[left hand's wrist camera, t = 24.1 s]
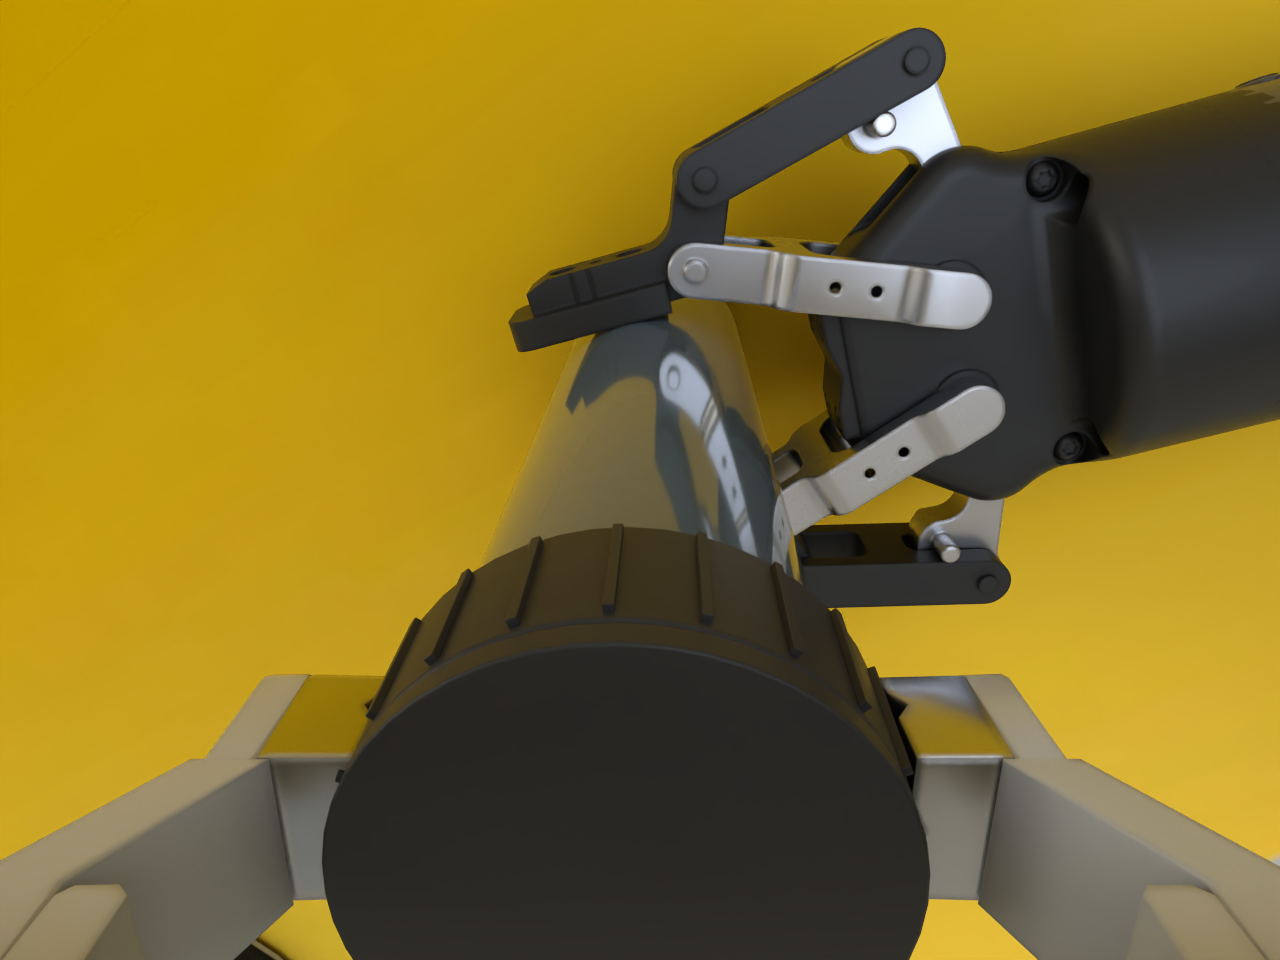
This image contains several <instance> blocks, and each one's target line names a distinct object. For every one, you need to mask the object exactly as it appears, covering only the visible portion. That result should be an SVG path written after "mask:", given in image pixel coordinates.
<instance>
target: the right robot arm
mask: <svg viewBox="0 0 1280 960" xmlns="http://www.w3.org/2000/svg"><path fill="white" fill-rule="evenodd" d="M945 60H946V53H945V48H944V45H943V43H942V41H941V39H940V38H939V37H938V35H937V34H935V33H934V32H933V31H931V30H929V29H925V28H913V29H909V30H907V31H904V32H901V33H898V34H895V35H892V36H889V37H886V38H883V39H880V40H878V41H876V42H874V43H872V44H870V45H868V46H867V47H865V48H863V49H861V50H860V51H858V52H856V53H855V54H853V55H851V56H849V57H848V58H846V59H844V60H842V61H841V62H839V63H837V64H835V65H834V66H832V67H830V68H828V69H827V70H825V71H823V72H821V73H820V74H818V75H816V76H814V77H813V78H811V79H809V80H807V81H806V82H804V83H802V84H800V85H799V86H797V87H795V88H793V89H792V90H790V91H788V92H786V93H785V94H783V95H781V96H779V97H778V98H776V99H774V100H772V101H771V102H769V103H767V104H765V105H764V106H762V107H760V108H758V109H757V110H755V111H753V112H752V113H750V114H748V115H746V116H745V117H743V118H741V119H739V120H738V121H736V122H734V123H732V124H731V125H729V126H727V127H725V128H724V129H722V130H720V131H718V132H717V133H715V134H713V135H711V136H710V137H708V138H706V139H704V140H703V141H701V142H699V143H697V144H696V145H694V146H692V147H690V148H689V149H687V150H685V151H684V152H682V153H681V154H680V155H679V157H678V158H677V159H676V161H675V164H674V167H673V173H672V175H673V182H672V193H671V203H670V214H669V219H668V223H667V225H666V227H665V229H664V231H663V232H662V233H661V235H660V236H659V237H658V238H656V239H655V240H654V241H652V242H650V243H648V244H645V245H642V246H638V247H634V248H631V249H627V250H624V251H620V252H616V253H613V254H609V255H605V256H602V257H598V258H595V259H592V260H587V261H584V262H580V263H576V264H574V265H569V266H566V267H562V268H558V269H555V270H551V271H550V272H548V273H547V274H546V275H544V276H543V277H542V278H541V279H539V280H538V281H537V282H535V283H534V284H533V285H532V287H531V289H530V290H529V292H528V293H527V298H528V301H529V304H530V305H527V306H525V307H522V308H520V309H518V310H517V311H515V313H514V315H513V316H512V318H511V319H510V321H509V325H510V328H511V331H512V334H513V338H514V341H515V344H516V347H517V350H518V351H519V352H526V351H532V350H536V349H540V348H543V347H547V346H551V345H555V344H558V343H562V342H566V341H570V340H573V339H577V338H581V337H585V336H588V335H592V334H596V333H600V332H603V331H607V330H611V329H615V328H618V327H622V326H626V325H629V324H633V323H637V322H641V321H644V320H648V319H652V318H656V317H659V316H663V315H667V314H671V313H673V311H672V306H671V301H675V300H679V299H682V298H686V297H687V298H692V299H702V300H713V301H724V302H734V303H745V304H756V305H764V306H769V307H772V308H775V309H779V310H783V311H789V312H798V313H808V316H809V321H810V326H811V329H812V331H813V333H814V335H815V337H816V339H817V341H818V343H819V345H820V347H821V349H822V351H823V353H824V355H825V365H824V378H823V391H824V396H825V401H826V406H827V410H826V411H824V412H823V413H821V414H820V415H818V416H817V417H815V418H814V419H812V420H811V421H809V422H807V423H806V424H804V425H803V426H801V427H800V428H799V429H797V430H796V431H795V432H794V433H793V435H792V436H791V438H790V440H789V441H788V443H787V444H785V445H784V446H783V447H781V448H780V449H778V450H777V451H775V452H774V453H772V457H773V461H774V464H775V468H776V472H777V475H778V479H779V482H780V486H781V490H782V493H783V497H784V501H785V504H786V508H787V512H788V515H789V519H790V523H791V526H792V530H793V534H794V537H795V541H796V544H797V548H798V552H799V555H800V559H801V563H802V566H803V570H804V574H805V577H806V581H807V585H808V588H809V591H810V592H811V593H812V594H814V595H815V596H816V597H817V598H819V599H820V600H821V602H822V603H823V604H824V605H825V606H826V607H827V608H844V607H881V606H918V605H955V604H986V603H991V602H994V601H996V600H998V599H1000V598H1001V597H1002V596H1003V595H1004V594H1005V593H1006V592H1007V591H1008V589H1009V587H1010V583H1011V576H1010V573H1009V571H1008V569H1007V568H1006V567H1005V566H1004V564H1003V563H1002V562H1001V561H1000V559H999V557H998V555H997V549H998V542H999V534H1000V527H1001V519H1002V512H1003V505H1004V498H1007V497H1009V496H1011V495H1014V494H1015V493H1017V492H1019V491H1020V490H1022V489H1023V488H1024V487H1026V486H1027V485H1028V484H1029V483H1030V482H1032V481H1033V480H1034V479H1036V478H1037V477H1039V476H1040V475H1042V474H1044V473H1046V472H1047V471H1049V470H1052V469H1054V468H1056V467H1059V466H1062V465H1067V464H1074V463H1083V462H1093V461H1103V460H1110V459H1116V458H1121V457H1125V456H1129V455H1133V454H1137V453H1141V452H1146V451H1150V450H1154V449H1158V448H1162V447H1166V446H1171V445H1175V444H1179V443H1183V442H1187V441H1191V440H1195V439H1200V438H1204V437H1208V436H1212V435H1216V434H1220V433H1225V432H1229V431H1233V430H1237V429H1241V428H1245V427H1249V426H1253V425H1257V424H1262V423H1266V422H1270V421H1274V420H1278V419H1280V74H1278V73H1273V74H1269V75H1266V76H1262V77H1259V78H1256V79H1253V80H1250V81H1248V82H1245V83H1243V84H1240V85H1238V86H1236V88H1235V89H1233V90H1231V91H1228V92H1224V93H1220V94H1217V95H1213V96H1210V97H1206V98H1202V99H1199V100H1195V101H1191V102H1188V103H1184V104H1181V105H1177V106H1173V107H1169V108H1166V109H1162V110H1159V111H1155V112H1151V113H1148V114H1144V115H1140V116H1137V117H1133V118H1130V119H1126V120H1122V121H1119V122H1115V123H1112V124H1108V125H1104V126H1101V127H1097V128H1093V129H1090V130H1086V131H1083V132H1079V133H1075V134H1072V135H1068V136H1065V137H1061V138H1057V139H1054V140H1050V141H1046V142H1043V143H1039V144H1036V145H1032V146H1028V147H1025V148H1021V149H1017V150H1013V151H1006V152H993V151H989V150H986V149H983V148H980V147H975V146H961V144H960V142H959V139H958V136H957V134H956V131H955V128H954V126H953V123H952V121H951V118H950V115H949V113H948V110H947V107H946V105H945V102H944V100H943V97H942V94H941V92H940V89H939V86H938V84H937V80H938V79H939V78H940V76H941V74H942V72H943V70H944V66H945ZM839 138H841V139H842V140H843V142H844V143H845V145H846V146H847V147H848V148H850V149H851V150H853V151H856V152H860V153H867V154H878V153H882V152H885V151H887V150H890V149H896V150H898V151H900V152H901V153H903V154H904V155H905V156H906V158H907V159H908V161H909V163H910V164H909V165H908V166H907V167H906V168H905V169H904V171H903V172H902V173H901V174H900V175H899V176H898V177H897V179H896V180H895V181H894V182H893V183H892V184H891V185H890V187H889V188H888V189H887V190H886V191H885V192H884V194H883V195H882V196H881V197H880V198H879V199H878V200H877V202H876V203H875V204H874V205H873V206H872V207H871V208H870V210H869V211H868V212H867V213H866V214H865V215H864V216H863V218H862V219H861V220H860V221H859V222H858V223H857V225H856V226H855V227H854V228H853V229H852V230H851V231H850V233H849V234H848V235H847V236H846V237H845V238H844V239H843V241H842V242H841V243H839V242H828V241H818V240H808V239H797V238H787V237H776V236H765V237H754V236H743V235H733V234H725V228H726V220H727V211H728V203H729V199H731V198H733V197H735V196H737V195H738V194H740V193H742V192H744V191H746V190H747V189H749V188H751V187H753V186H755V185H756V184H758V183H760V182H762V181H764V180H765V179H767V178H769V177H771V176H773V175H774V174H776V173H778V172H780V171H782V170H783V169H785V168H787V167H789V166H791V165H792V164H794V163H796V162H798V161H799V160H801V159H803V158H805V157H807V156H808V155H810V154H812V153H814V152H816V151H817V150H819V149H821V148H823V147H825V146H826V145H828V144H830V143H832V142H834V141H835V140H837V139H839ZM867 469H868V470H867ZM909 476H913V477H916V478H918V479H921V480H924V481H927V482H929V483H932V484H935V485H937V486H940V487H943V488H946V489H948V490H951V491H954V493H953V494H952V496H951V497H950V498H949V499H948V500H947V501H945V502H944V503H942V504H940V505H937V506H932V507H927V508H921V509H919V510H917V511H916V513H915V514H914V516H913V517H912V519H911V521H910V523H879V524H843V525H813V524H814V523H816V522H818V521H819V520H821V519H823V518H824V517H826V516H829V515H845V514H848V513H850V512H852V511H854V510H855V509H857V508H859V507H860V506H862V505H864V504H865V503H867V502H868V501H870V500H872V499H873V498H875V497H877V496H878V495H880V494H881V493H883V492H885V491H886V490H888V489H890V488H891V487H893V486H894V485H896V484H898V483H899V482H901V481H903V480H904V479H906V478H907V477H909Z"/></svg>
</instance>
